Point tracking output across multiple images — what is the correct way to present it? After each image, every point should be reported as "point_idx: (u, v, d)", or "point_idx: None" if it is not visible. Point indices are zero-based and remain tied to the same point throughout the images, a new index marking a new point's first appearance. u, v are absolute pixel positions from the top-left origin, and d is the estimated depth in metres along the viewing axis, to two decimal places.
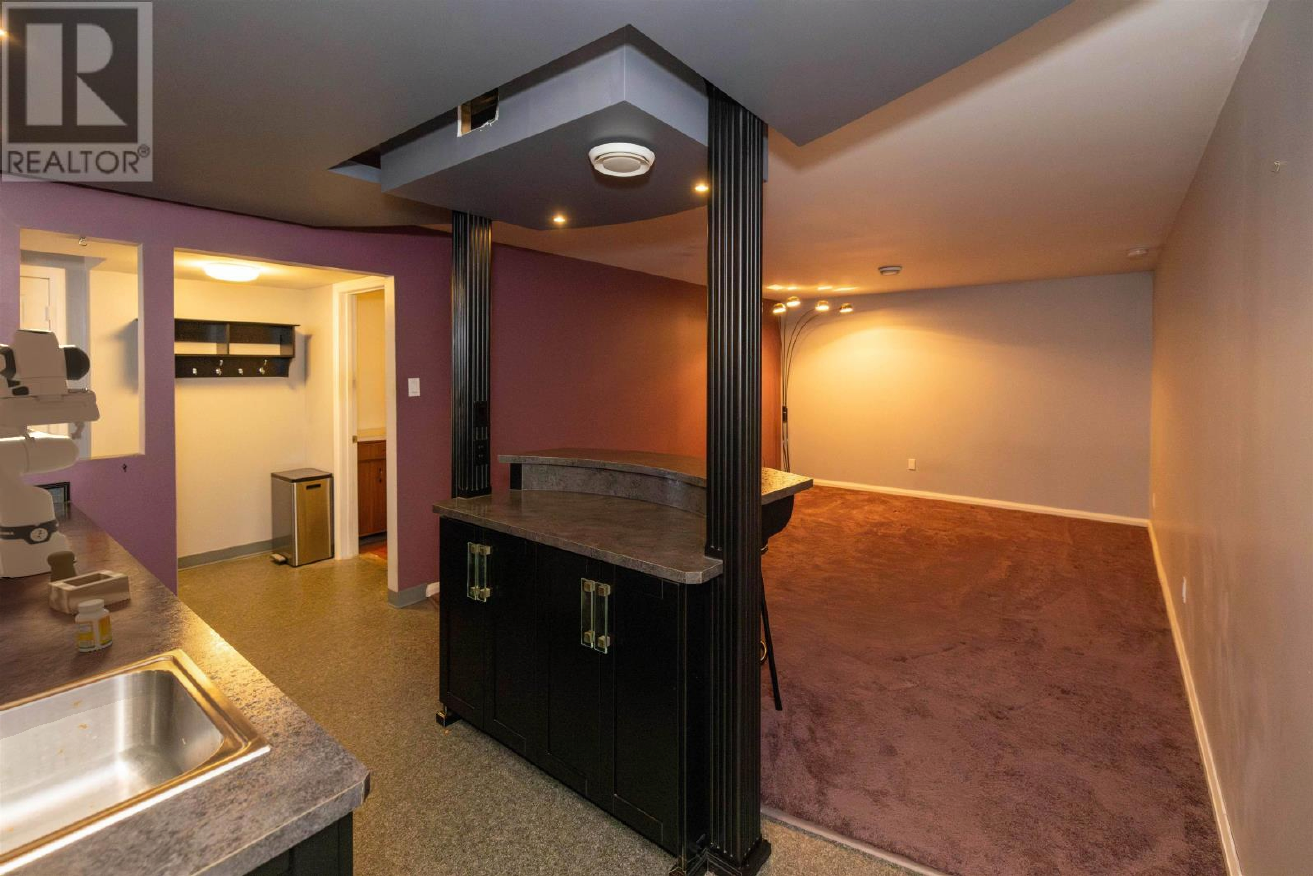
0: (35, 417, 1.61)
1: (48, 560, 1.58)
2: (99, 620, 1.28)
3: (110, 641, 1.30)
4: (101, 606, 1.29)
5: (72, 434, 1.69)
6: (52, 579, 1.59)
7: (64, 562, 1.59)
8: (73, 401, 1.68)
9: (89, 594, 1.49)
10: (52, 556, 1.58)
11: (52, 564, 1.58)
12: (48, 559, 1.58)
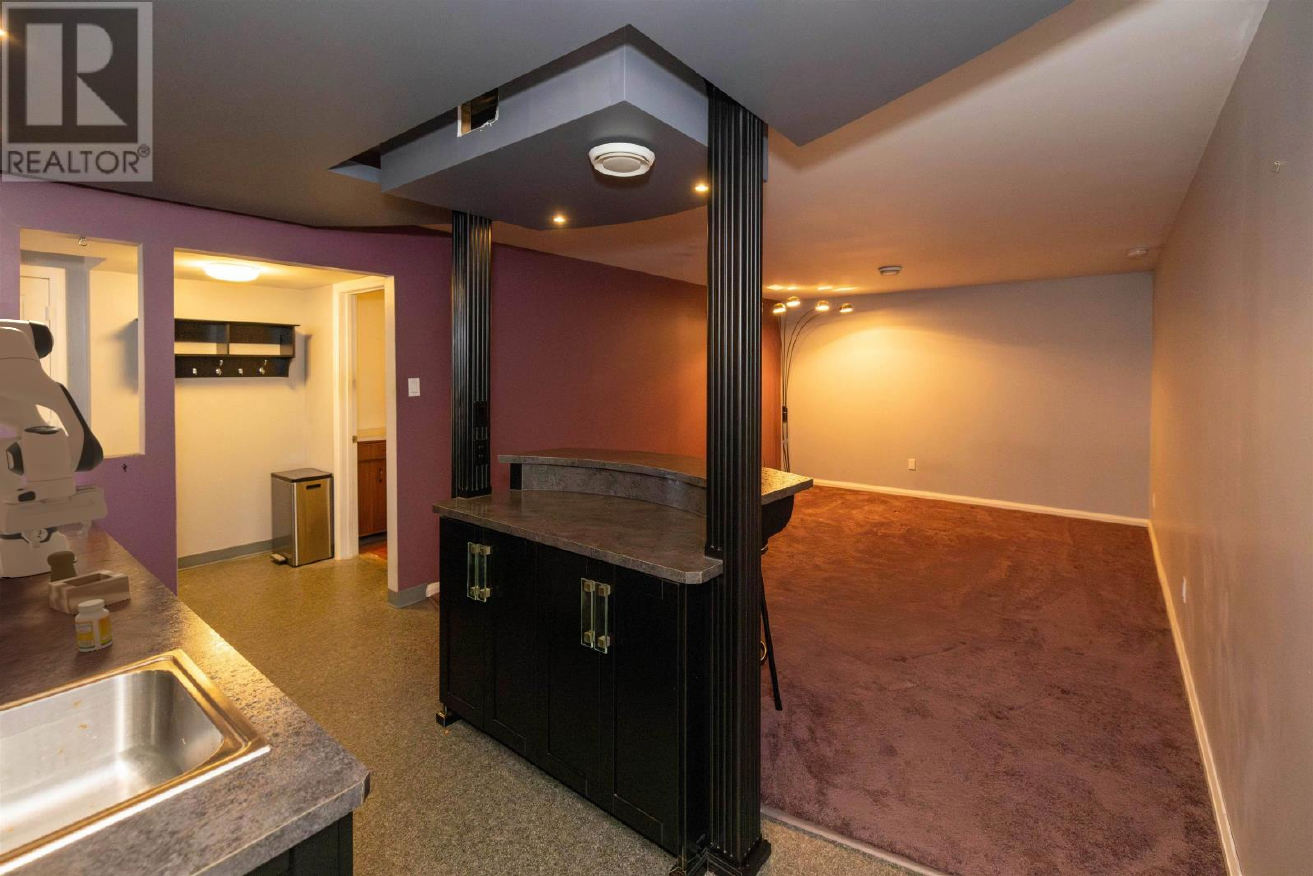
0: (41, 522, 1.55)
1: (48, 560, 1.58)
2: (99, 620, 1.28)
3: (110, 641, 1.30)
4: (101, 606, 1.29)
5: (78, 533, 1.63)
6: (52, 579, 1.59)
7: (64, 562, 1.59)
8: (81, 500, 1.62)
9: (89, 594, 1.49)
10: (52, 556, 1.58)
11: (52, 564, 1.58)
12: (48, 559, 1.58)
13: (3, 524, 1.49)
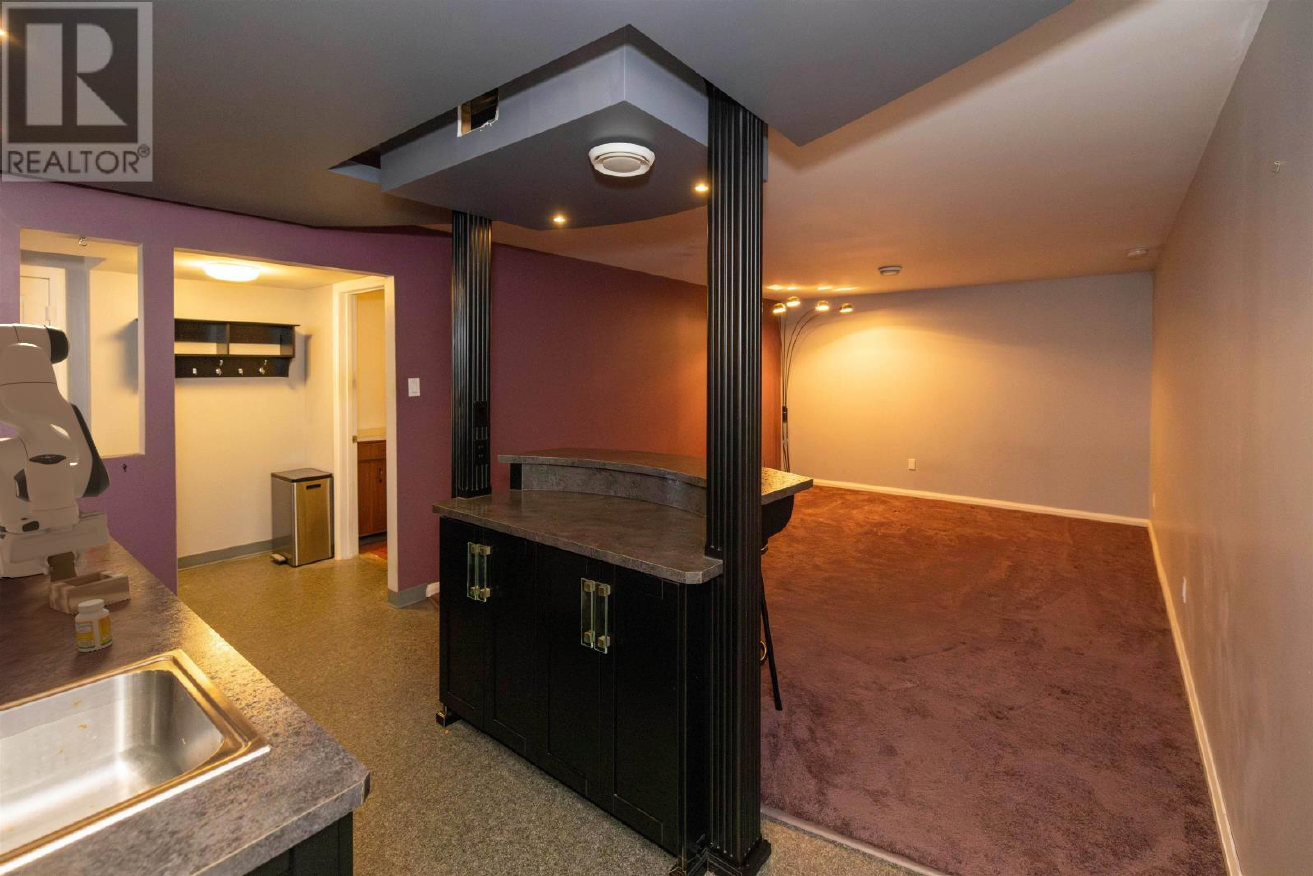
0: (44, 550, 1.56)
1: (48, 560, 1.58)
2: (99, 620, 1.28)
3: (110, 641, 1.30)
4: (101, 606, 1.29)
5: None
6: (52, 579, 1.59)
7: (64, 562, 1.59)
8: (84, 527, 1.63)
9: (89, 594, 1.49)
10: (52, 556, 1.58)
11: (52, 564, 1.58)
12: (48, 559, 1.58)
13: (7, 553, 1.51)
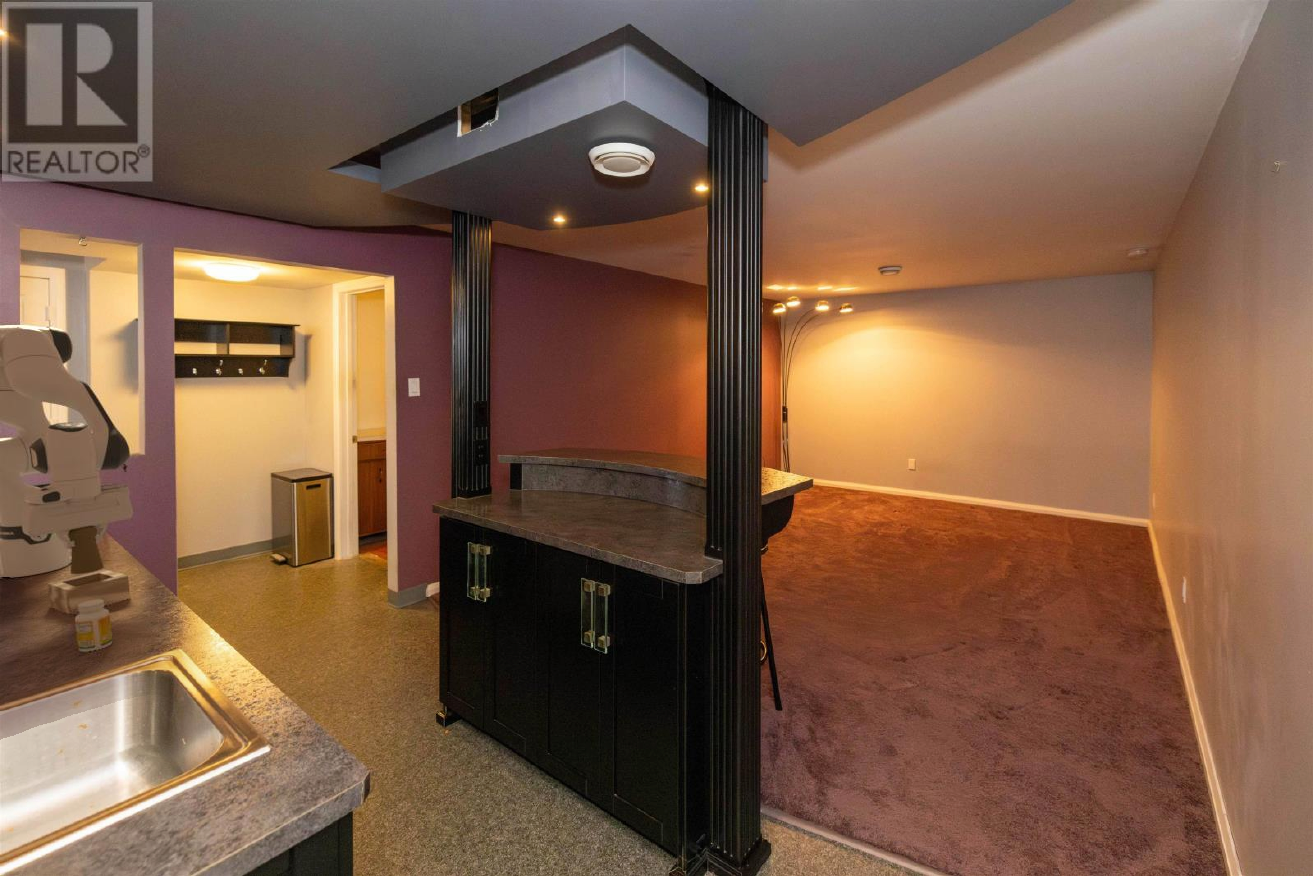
0: (65, 523, 1.48)
1: (69, 534, 1.50)
2: (99, 620, 1.28)
3: (110, 641, 1.30)
4: (101, 606, 1.29)
5: None
6: (74, 555, 1.50)
7: (85, 537, 1.51)
8: (106, 500, 1.55)
9: (89, 594, 1.49)
10: (73, 530, 1.50)
11: (73, 539, 1.50)
12: (69, 533, 1.50)
13: (27, 525, 1.42)
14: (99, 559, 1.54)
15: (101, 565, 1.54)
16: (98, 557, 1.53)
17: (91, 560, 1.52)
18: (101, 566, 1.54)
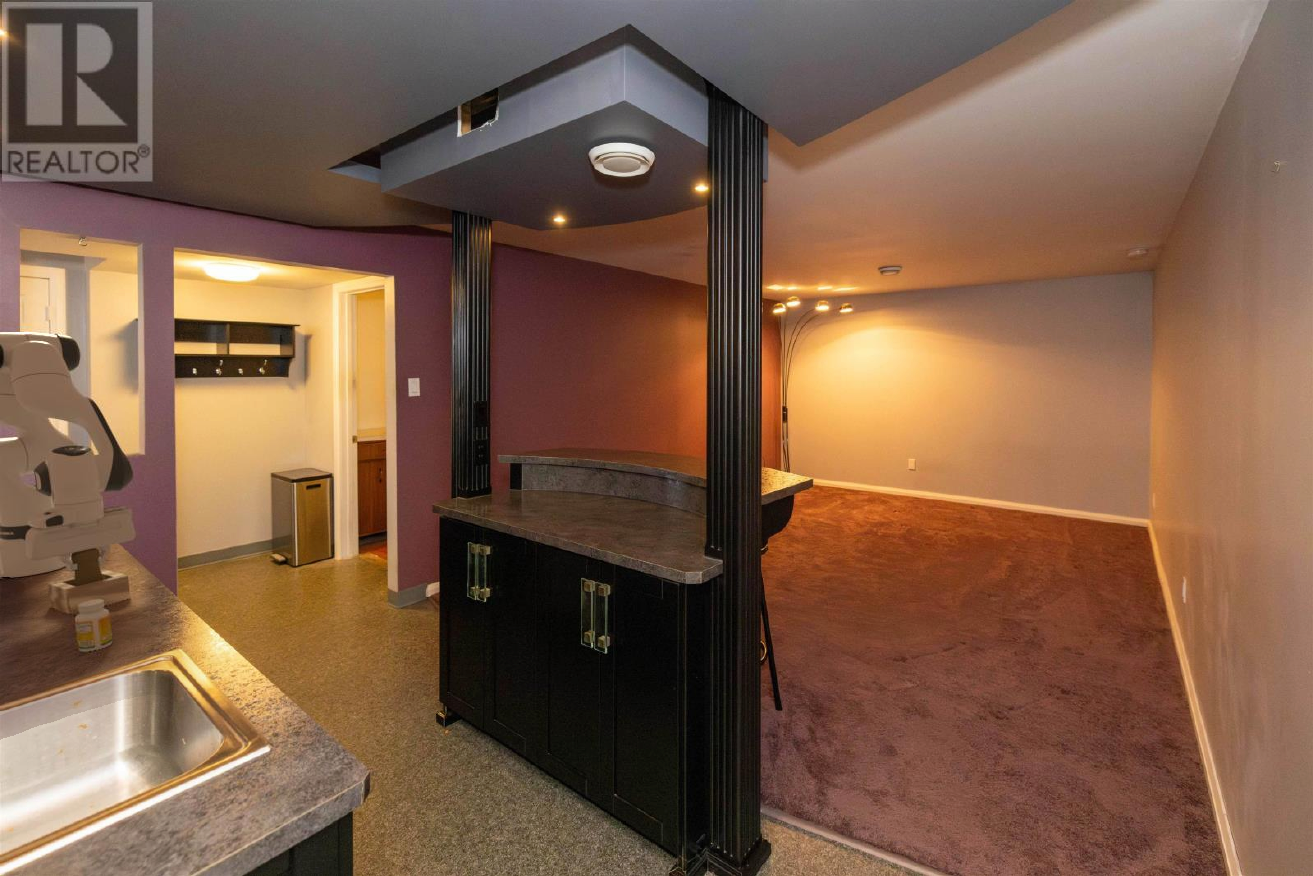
0: (68, 546, 1.49)
1: (72, 557, 1.51)
2: (99, 620, 1.28)
3: (110, 641, 1.30)
4: (101, 606, 1.29)
5: None
6: (77, 578, 1.51)
7: (88, 560, 1.51)
8: (109, 523, 1.55)
9: (89, 594, 1.49)
10: (76, 553, 1.51)
11: (76, 562, 1.51)
12: (72, 556, 1.51)
13: (30, 549, 1.43)
14: None
15: None
16: (101, 579, 1.54)
17: None
18: None
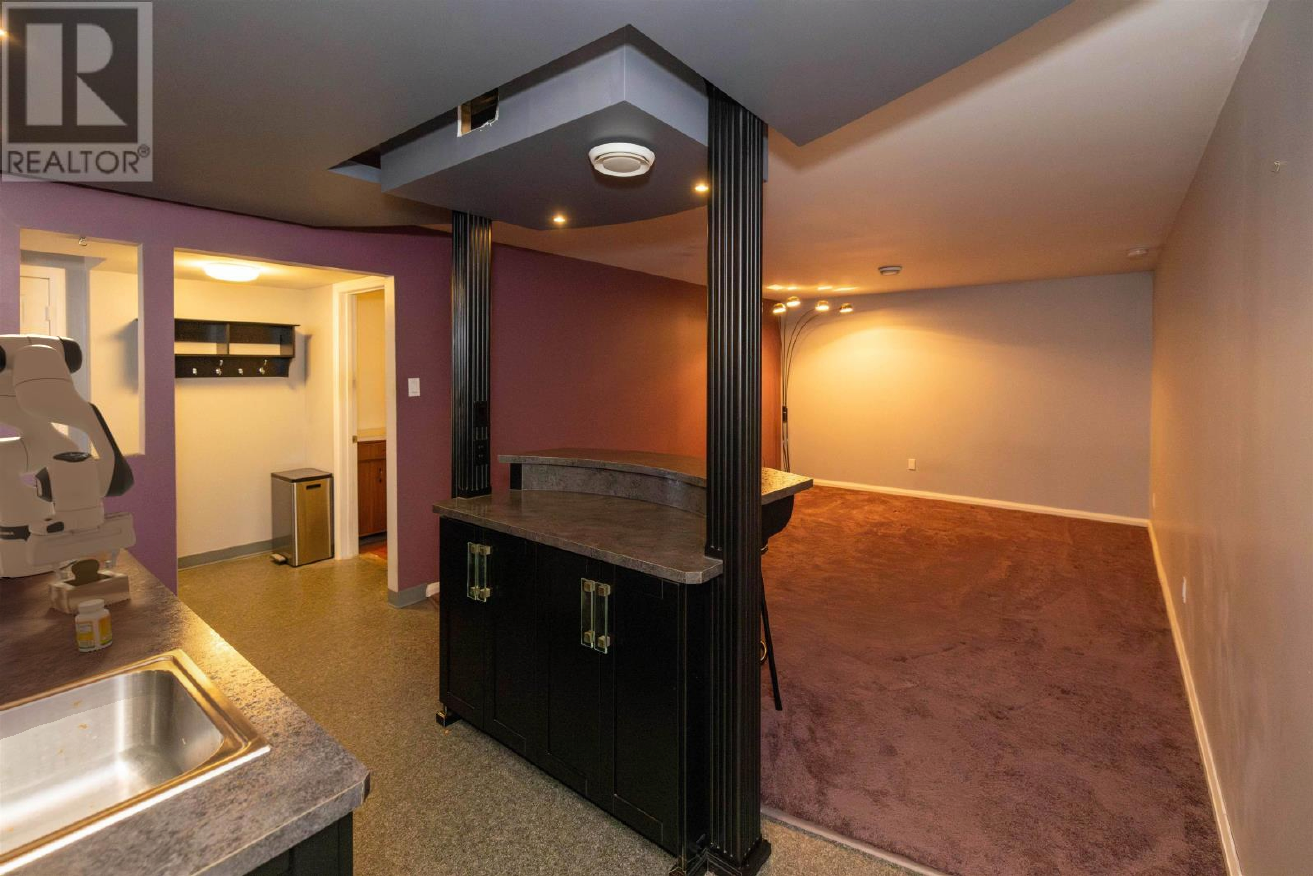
0: (69, 552, 1.49)
1: (72, 569, 1.51)
2: (99, 620, 1.28)
3: (110, 641, 1.30)
4: (101, 606, 1.29)
5: (106, 563, 1.57)
6: None
7: (88, 571, 1.52)
8: (110, 528, 1.56)
9: (89, 594, 1.49)
10: (76, 565, 1.51)
11: (76, 573, 1.51)
12: (72, 568, 1.51)
13: (31, 556, 1.43)
14: None
15: None
16: None
17: None
18: None
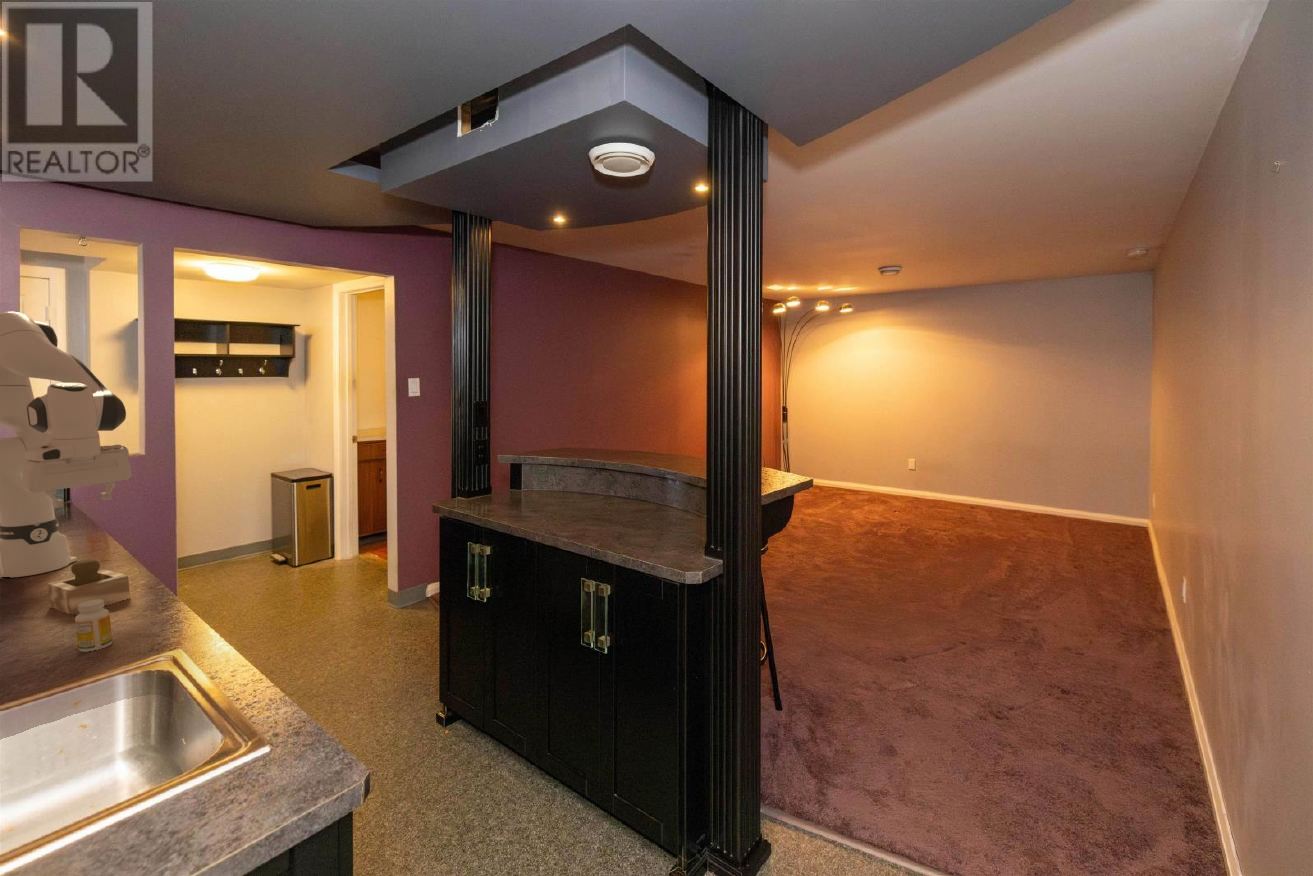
0: (65, 481, 1.51)
1: (72, 569, 1.51)
2: (99, 620, 1.28)
3: (110, 641, 1.30)
4: (101, 606, 1.29)
5: (102, 494, 1.59)
6: None
7: (88, 571, 1.52)
8: (105, 460, 1.57)
9: (89, 594, 1.49)
10: (76, 565, 1.51)
11: (76, 573, 1.51)
12: (72, 568, 1.51)
13: (27, 481, 1.45)
14: None
15: None
16: None
17: None
18: None
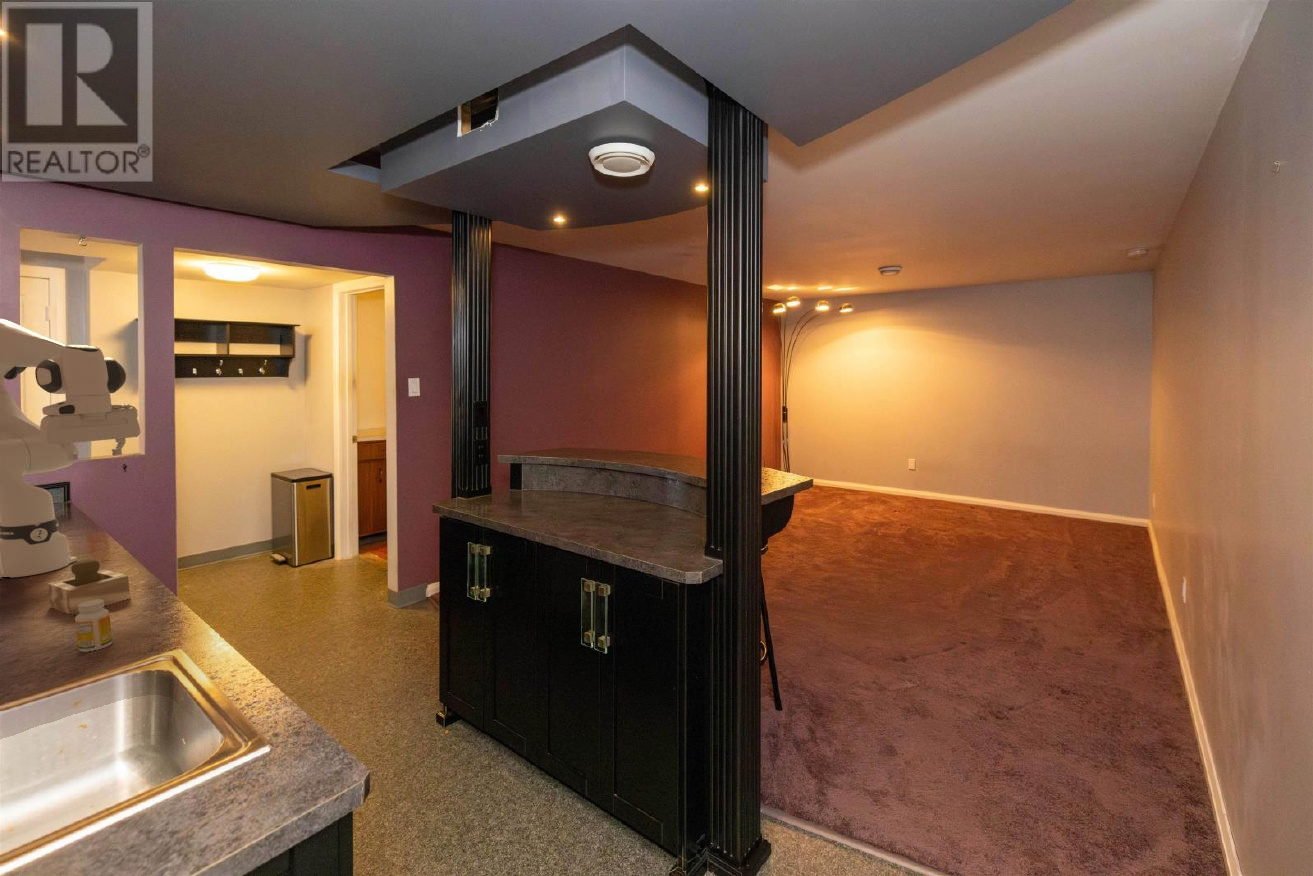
0: (79, 435, 1.62)
1: (72, 569, 1.51)
2: (99, 620, 1.28)
3: (110, 641, 1.30)
4: (101, 606, 1.29)
5: (113, 450, 1.70)
6: None
7: (88, 571, 1.52)
8: (116, 418, 1.69)
9: (89, 594, 1.49)
10: (76, 565, 1.51)
11: (76, 573, 1.51)
12: (72, 568, 1.51)
13: (45, 434, 1.56)
14: None
15: None
16: None
17: None
18: None
